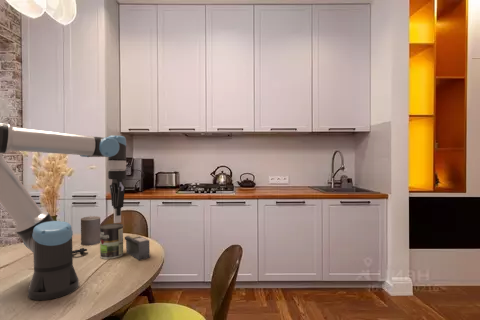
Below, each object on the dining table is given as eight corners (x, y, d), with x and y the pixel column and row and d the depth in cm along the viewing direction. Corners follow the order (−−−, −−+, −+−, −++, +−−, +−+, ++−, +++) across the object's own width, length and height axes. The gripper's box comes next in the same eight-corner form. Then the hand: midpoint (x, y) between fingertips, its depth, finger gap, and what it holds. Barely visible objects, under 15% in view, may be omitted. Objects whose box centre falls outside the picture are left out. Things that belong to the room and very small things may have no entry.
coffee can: (109, 260, 136) (108, 229, 135) (95, 256, 141) (94, 226, 141) (128, 254, 144) (127, 224, 144) (114, 250, 150) (114, 222, 149)
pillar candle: (76, 244, 161) (76, 216, 160) (90, 239, 170) (90, 213, 170) (91, 246, 158) (91, 218, 158) (104, 241, 167) (104, 214, 167)
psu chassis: (137, 260, 135) (137, 242, 135) (125, 252, 146) (124, 235, 146) (149, 257, 139) (149, 239, 138) (136, 250, 150) (136, 233, 150)
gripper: (131, 170, 133) (131, 223, 133) (120, 169, 142) (120, 219, 142) (113, 170, 128) (114, 226, 128) (103, 170, 137) (104, 221, 137)
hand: (117, 222), depth 135 cm, fingers closed
